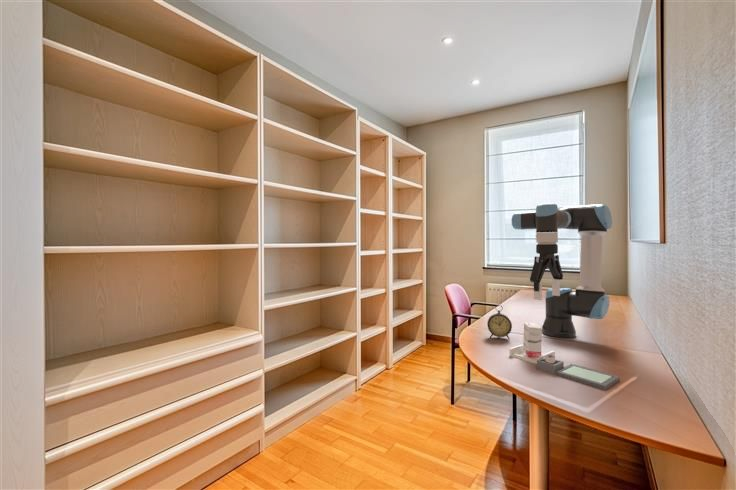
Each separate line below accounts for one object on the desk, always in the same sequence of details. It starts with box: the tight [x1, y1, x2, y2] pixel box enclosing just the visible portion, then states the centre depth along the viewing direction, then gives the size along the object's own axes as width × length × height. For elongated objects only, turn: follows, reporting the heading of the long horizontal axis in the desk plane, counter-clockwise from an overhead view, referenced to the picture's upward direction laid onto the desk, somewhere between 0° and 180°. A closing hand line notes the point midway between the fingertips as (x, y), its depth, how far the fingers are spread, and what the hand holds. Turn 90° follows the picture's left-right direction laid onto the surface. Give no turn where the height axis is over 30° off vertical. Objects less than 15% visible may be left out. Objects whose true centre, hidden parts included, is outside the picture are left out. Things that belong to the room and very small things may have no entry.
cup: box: [536, 357, 565, 375], centre depth 124 cm, size 6×6×4 cm
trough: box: [509, 343, 556, 365], centre depth 136 cm, size 11×13×4 cm
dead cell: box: [545, 355, 556, 365], centre depth 124 cm, size 3×3×5 cm
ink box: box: [522, 322, 543, 358], centre depth 136 cm, size 9×5×12 cm, turn 169°
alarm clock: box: [486, 304, 513, 340], centre depth 167 cm, size 11×5×16 cm, turn 73°
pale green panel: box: [562, 366, 612, 384], centre depth 116 cm, size 9×12×1 cm
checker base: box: [554, 363, 620, 391], centre depth 116 cm, size 12×15×2 cm
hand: (547, 297), depth 134 cm, fingers open, 13 cm apart
